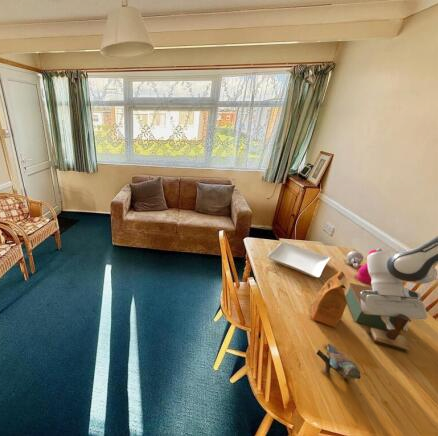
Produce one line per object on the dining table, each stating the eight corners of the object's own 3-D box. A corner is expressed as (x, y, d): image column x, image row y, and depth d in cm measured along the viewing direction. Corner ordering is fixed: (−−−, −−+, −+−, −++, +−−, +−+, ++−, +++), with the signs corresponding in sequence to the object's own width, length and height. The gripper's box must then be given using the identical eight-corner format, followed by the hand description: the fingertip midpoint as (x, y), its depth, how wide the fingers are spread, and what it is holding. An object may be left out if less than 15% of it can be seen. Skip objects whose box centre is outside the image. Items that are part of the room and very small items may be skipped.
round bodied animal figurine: (345, 269, 131) (350, 257, 128) (343, 259, 140) (348, 247, 137) (361, 273, 128) (367, 261, 124) (358, 263, 137) (364, 251, 133)
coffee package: (338, 312, 103) (357, 274, 94) (336, 331, 95) (357, 290, 85) (312, 302, 109) (327, 264, 100) (308, 318, 100) (324, 279, 91)
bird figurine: (311, 337, 91) (331, 327, 75) (342, 349, 87) (369, 341, 71) (308, 374, 85) (329, 371, 69) (341, 388, 81) (371, 389, 65)
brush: (400, 341, 90) (418, 316, 84) (407, 352, 86) (426, 327, 80) (368, 332, 94) (383, 307, 88) (373, 342, 90) (389, 317, 84)
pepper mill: (371, 278, 124) (387, 247, 116) (374, 286, 119) (392, 254, 110) (354, 273, 128) (368, 243, 119) (356, 281, 122) (372, 249, 114)
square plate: (329, 261, 138) (331, 256, 136) (317, 283, 121) (319, 277, 119) (281, 244, 156) (282, 239, 154) (265, 261, 139) (266, 255, 137)
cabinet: (384, 306, 107) (392, 292, 103) (403, 336, 92) (413, 321, 89) (343, 295, 113) (349, 282, 109) (354, 322, 98) (362, 308, 95)
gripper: (365, 289, 89) (373, 327, 84) (425, 294, 86) (437, 334, 82) (353, 289, 95) (360, 326, 90) (409, 294, 92) (419, 332, 88)
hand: (397, 330), depth 86 cm, fingers closed on brush, 3 cm apart
